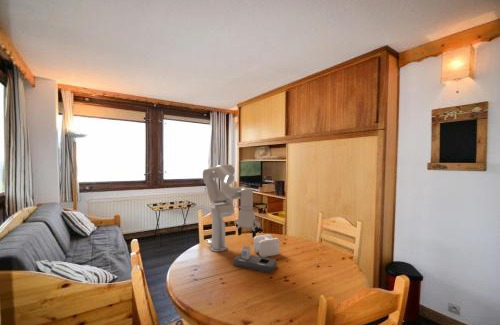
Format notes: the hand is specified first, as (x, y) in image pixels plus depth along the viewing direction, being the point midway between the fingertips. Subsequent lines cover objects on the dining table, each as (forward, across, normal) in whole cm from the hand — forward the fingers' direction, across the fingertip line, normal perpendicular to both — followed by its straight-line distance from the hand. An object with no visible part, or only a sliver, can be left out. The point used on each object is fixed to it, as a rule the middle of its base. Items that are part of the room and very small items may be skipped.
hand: (246, 235), depth 143 cm
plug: (+18, -1, 0) cm, 18 cm away
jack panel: (+18, +5, 0) cm, 18 cm away
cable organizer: (+18, +5, +20) cm, 27 cm away
